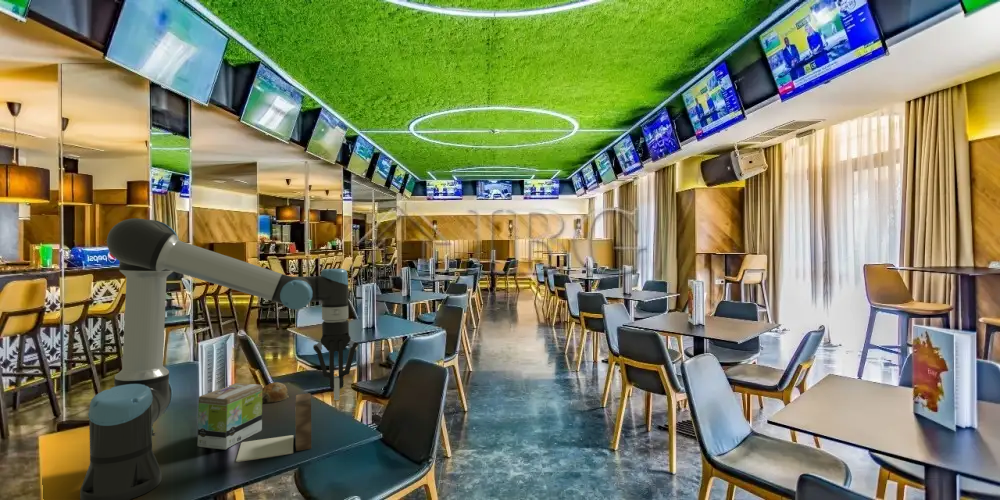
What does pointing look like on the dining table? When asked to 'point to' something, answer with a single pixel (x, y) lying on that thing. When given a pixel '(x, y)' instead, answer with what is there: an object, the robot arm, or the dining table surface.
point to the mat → (265, 448)
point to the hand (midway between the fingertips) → (336, 398)
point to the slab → (303, 421)
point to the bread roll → (274, 392)
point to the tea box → (229, 415)
